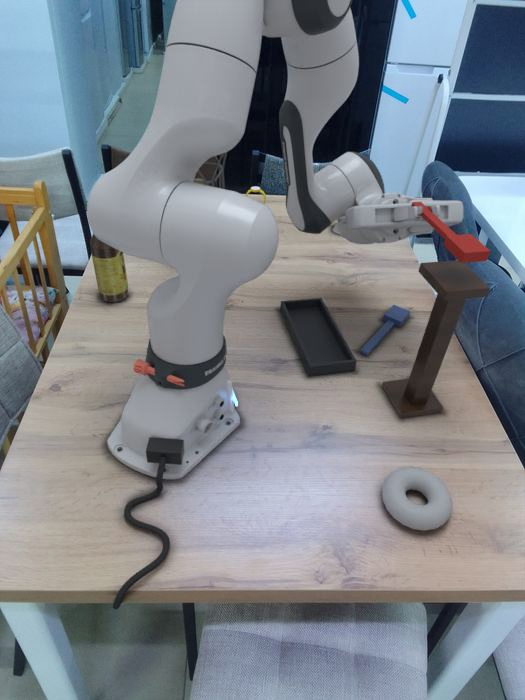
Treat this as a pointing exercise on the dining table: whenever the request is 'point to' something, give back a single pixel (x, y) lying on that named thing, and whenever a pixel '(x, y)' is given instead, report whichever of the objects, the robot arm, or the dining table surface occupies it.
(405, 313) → the blue spoon
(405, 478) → the donut
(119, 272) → the sauce bottle
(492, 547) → the dining table surface
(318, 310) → the tray
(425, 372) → the brown stand
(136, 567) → the dining table surface
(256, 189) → the gold gemstone ring
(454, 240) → the red spoon
